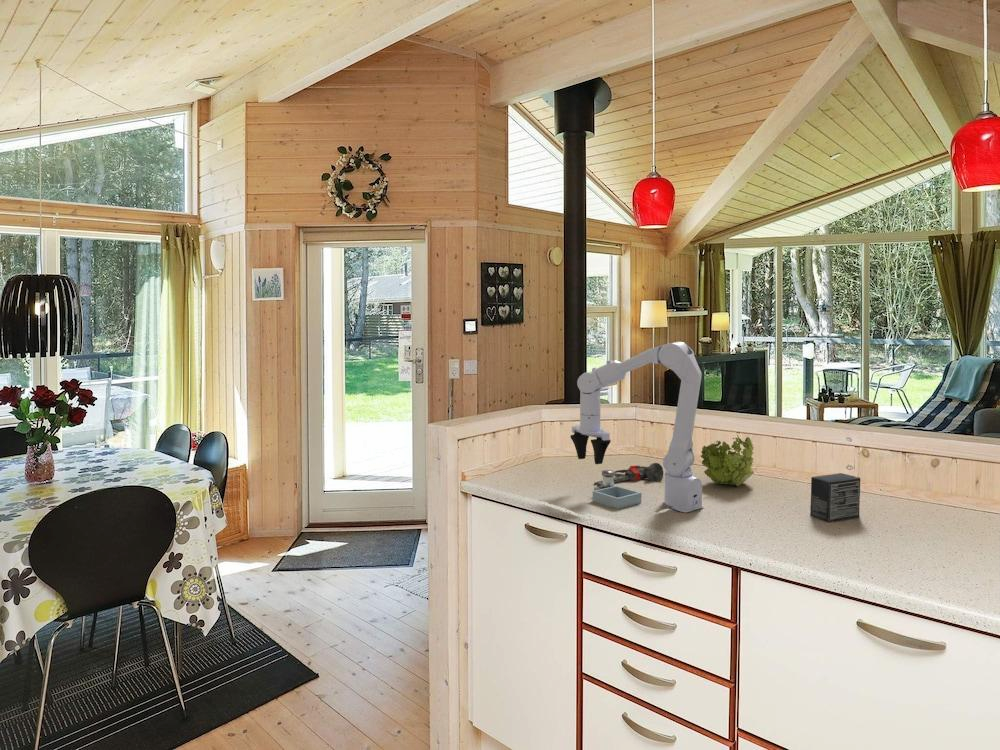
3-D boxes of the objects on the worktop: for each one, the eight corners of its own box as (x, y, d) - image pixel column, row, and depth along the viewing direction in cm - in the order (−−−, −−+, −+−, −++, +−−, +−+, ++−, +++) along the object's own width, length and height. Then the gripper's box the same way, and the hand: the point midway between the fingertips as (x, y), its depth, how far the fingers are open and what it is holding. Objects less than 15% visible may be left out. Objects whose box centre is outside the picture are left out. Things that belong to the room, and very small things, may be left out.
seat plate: (623, 495, 193) (623, 488, 193) (608, 499, 190) (608, 492, 189) (607, 490, 198) (607, 484, 198) (593, 494, 194) (593, 487, 194)
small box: (839, 511, 178) (841, 471, 177) (860, 518, 172) (862, 477, 171) (808, 515, 174) (810, 475, 173) (828, 523, 168) (830, 481, 167)
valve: (639, 476, 223) (673, 479, 210) (577, 492, 209) (610, 496, 197) (637, 457, 223) (671, 459, 210) (575, 471, 209) (607, 474, 197)
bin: (641, 505, 184) (641, 492, 183) (617, 511, 178) (617, 498, 178) (616, 497, 191) (616, 485, 191) (592, 503, 185) (592, 491, 185)
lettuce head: (762, 479, 192) (718, 441, 194) (725, 507, 202) (683, 471, 203) (772, 447, 206) (731, 412, 208) (737, 475, 216) (698, 441, 217)
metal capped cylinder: (617, 492, 193) (618, 471, 193) (608, 494, 191) (608, 473, 190) (608, 489, 196) (608, 469, 196) (598, 491, 194) (598, 471, 193)
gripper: (618, 416, 189) (617, 464, 190) (585, 409, 201) (585, 454, 202) (598, 418, 185) (598, 467, 186) (566, 411, 197) (566, 457, 199)
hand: (590, 461), depth 194 cm, fingers open, 7 cm apart
